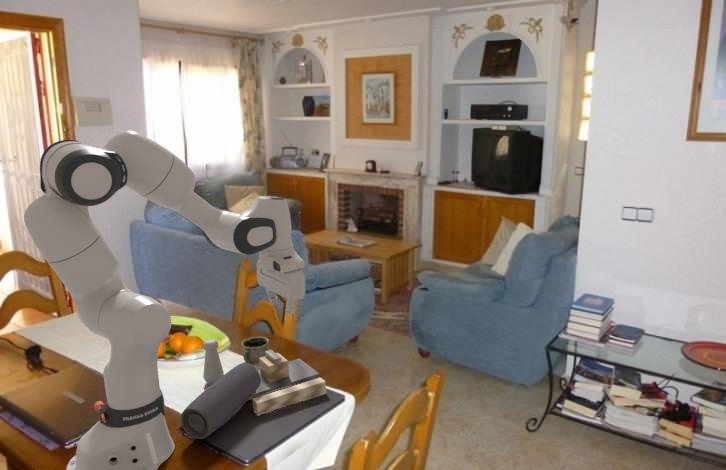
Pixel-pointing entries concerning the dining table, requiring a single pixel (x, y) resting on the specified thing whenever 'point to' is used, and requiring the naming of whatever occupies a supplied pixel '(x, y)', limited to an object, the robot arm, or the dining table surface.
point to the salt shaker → (212, 362)
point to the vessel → (254, 349)
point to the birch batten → (290, 395)
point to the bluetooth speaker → (220, 401)
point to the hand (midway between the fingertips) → (282, 308)
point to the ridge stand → (282, 372)
